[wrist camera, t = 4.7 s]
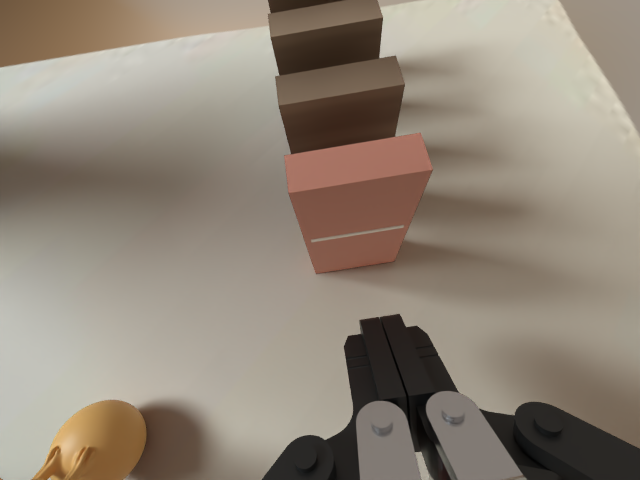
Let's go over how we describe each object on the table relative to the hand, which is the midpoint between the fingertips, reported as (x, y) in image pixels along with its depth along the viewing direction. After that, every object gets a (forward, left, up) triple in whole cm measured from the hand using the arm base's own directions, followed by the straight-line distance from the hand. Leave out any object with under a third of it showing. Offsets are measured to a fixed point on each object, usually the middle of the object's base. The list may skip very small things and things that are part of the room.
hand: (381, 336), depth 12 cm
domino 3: (-5, +3, -7) cm, 9 cm away
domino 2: (-8, +5, -7) cm, 12 cm away
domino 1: (-12, +7, -7) cm, 15 cm away
